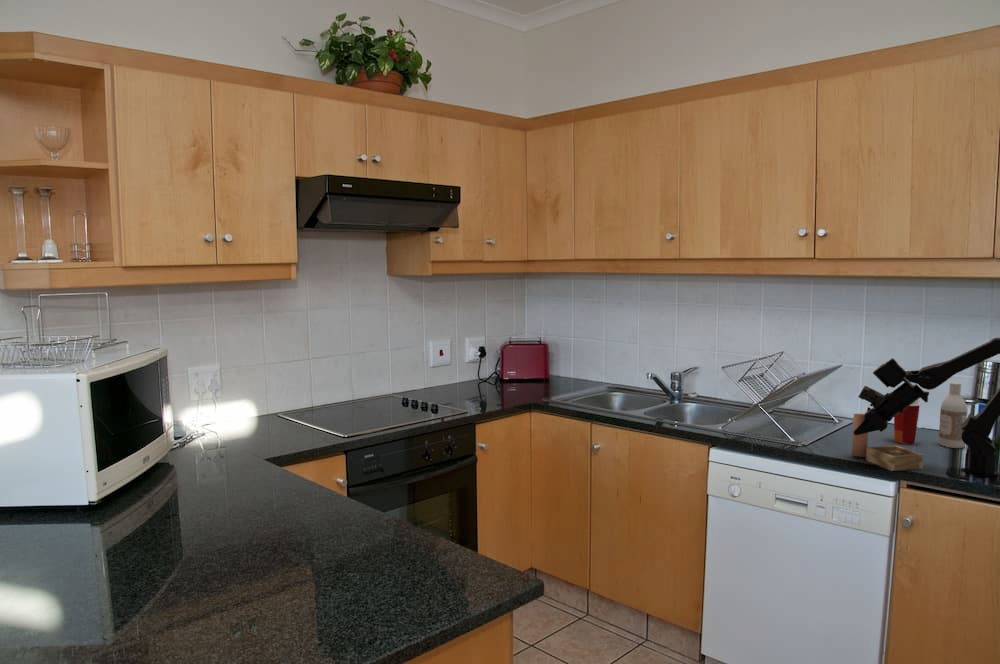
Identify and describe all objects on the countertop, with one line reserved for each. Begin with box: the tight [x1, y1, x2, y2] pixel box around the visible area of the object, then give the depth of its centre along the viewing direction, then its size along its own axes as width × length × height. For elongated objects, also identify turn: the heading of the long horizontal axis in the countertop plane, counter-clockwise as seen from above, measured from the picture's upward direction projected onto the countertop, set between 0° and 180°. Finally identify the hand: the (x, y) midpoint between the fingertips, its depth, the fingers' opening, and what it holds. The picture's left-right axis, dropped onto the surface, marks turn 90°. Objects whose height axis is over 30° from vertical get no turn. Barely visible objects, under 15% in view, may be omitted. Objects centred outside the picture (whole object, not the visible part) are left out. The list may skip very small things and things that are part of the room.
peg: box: [851, 413, 869, 458], centre depth 209 cm, size 4×4×12 cm
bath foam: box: [938, 381, 968, 449], centre depth 220 cm, size 7×7×20 cm
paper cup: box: [893, 399, 921, 445], centre depth 225 cm, size 8×8×14 cm
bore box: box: [865, 445, 924, 472], centre depth 202 cm, size 10×10×4 cm
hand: (855, 432), depth 209 cm, fingers closed on peg, 4 cm apart
